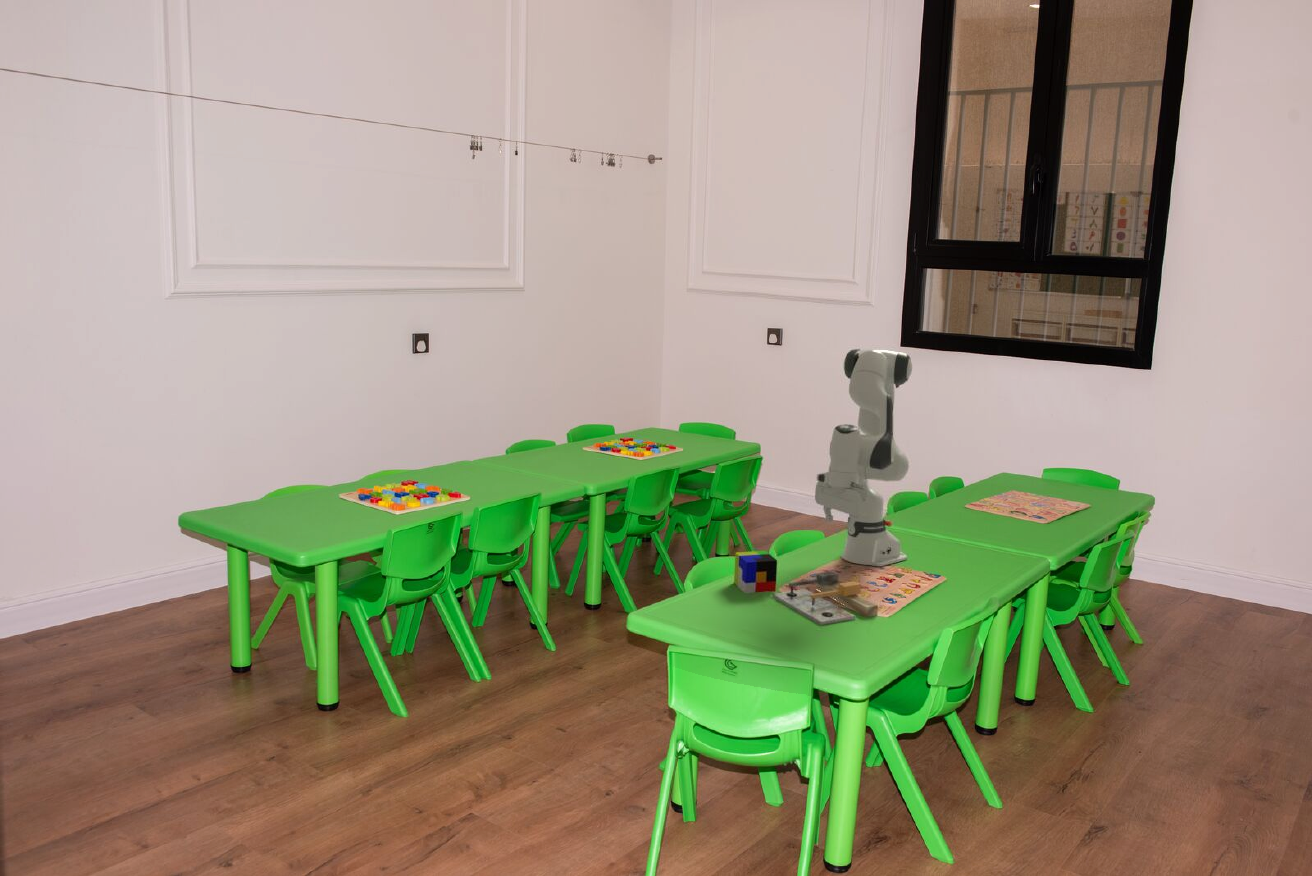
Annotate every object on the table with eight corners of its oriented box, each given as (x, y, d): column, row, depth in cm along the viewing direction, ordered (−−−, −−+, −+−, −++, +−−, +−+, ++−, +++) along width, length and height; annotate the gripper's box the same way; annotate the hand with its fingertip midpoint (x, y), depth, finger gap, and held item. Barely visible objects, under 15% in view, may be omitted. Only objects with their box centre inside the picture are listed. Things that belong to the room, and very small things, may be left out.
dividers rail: (828, 588, 326) (829, 569, 325) (880, 614, 304) (881, 595, 303) (783, 595, 318) (784, 576, 317) (832, 623, 296) (833, 603, 295)
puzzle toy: (745, 593, 319) (746, 562, 317) (734, 583, 328) (735, 552, 326) (775, 591, 322) (777, 560, 320) (763, 581, 331) (765, 550, 329)
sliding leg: (853, 595, 315) (854, 581, 314) (860, 599, 312) (861, 584, 311) (807, 603, 307) (808, 588, 306) (813, 607, 304) (814, 591, 303)
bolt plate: (805, 591, 322) (805, 588, 321) (855, 619, 300) (855, 615, 300) (772, 597, 316) (772, 593, 316) (821, 625, 295) (821, 621, 294)
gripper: (874, 485, 303) (871, 532, 305) (829, 472, 321) (825, 516, 323) (858, 487, 300) (854, 533, 302) (813, 474, 317) (809, 518, 319)
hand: (839, 524), depth 312 cm, fingers open, 8 cm apart
